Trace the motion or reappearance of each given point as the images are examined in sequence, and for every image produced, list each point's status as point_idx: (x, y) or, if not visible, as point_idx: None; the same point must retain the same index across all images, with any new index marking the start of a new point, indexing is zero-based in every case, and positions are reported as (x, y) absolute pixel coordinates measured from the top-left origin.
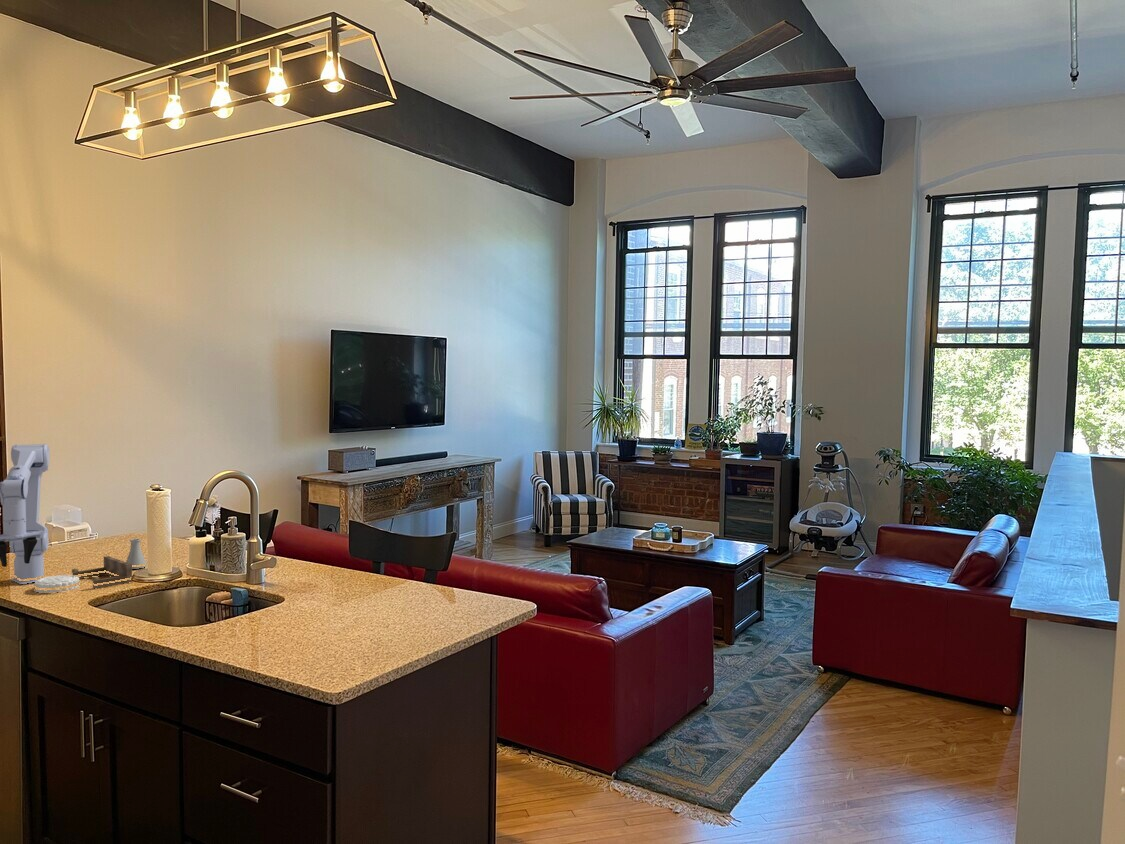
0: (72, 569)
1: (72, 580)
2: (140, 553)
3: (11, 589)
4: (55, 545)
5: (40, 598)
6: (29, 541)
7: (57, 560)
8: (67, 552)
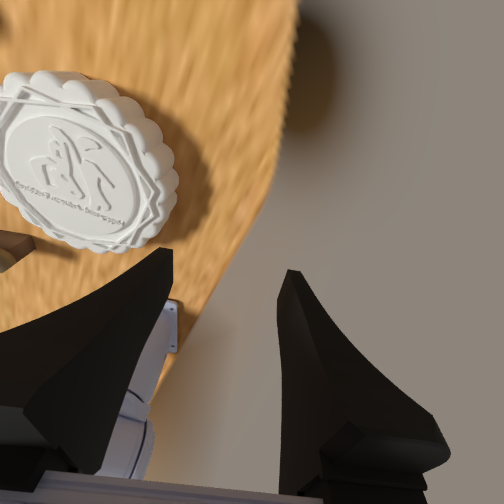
0: (3, 267)
1: (4, 93)
2: None
3: (212, 283)
4: None
5: (204, 47)
6: (22, 398)
7: None
8: None
